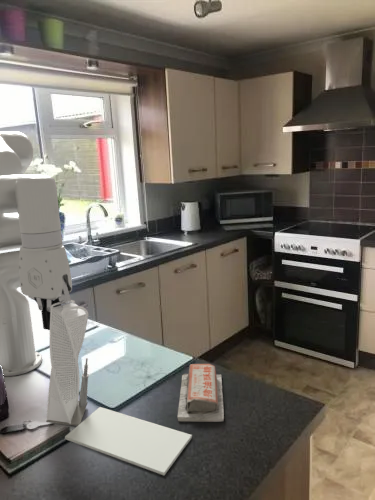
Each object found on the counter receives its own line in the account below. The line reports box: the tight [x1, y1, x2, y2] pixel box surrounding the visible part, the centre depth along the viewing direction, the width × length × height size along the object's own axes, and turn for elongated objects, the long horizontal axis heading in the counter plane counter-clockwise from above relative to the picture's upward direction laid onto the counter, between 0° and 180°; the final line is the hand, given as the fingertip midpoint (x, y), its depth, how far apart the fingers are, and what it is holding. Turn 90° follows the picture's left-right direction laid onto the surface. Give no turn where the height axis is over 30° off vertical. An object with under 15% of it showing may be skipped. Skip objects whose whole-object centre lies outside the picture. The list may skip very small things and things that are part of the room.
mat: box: [64, 406, 193, 476], centre depth 83 cm, size 23×11×1 cm, turn 63°
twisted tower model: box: [45, 299, 90, 427], centre depth 85 cm, size 8×8×28 cm
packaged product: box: [177, 363, 225, 423], centre depth 95 cm, size 18×5×10 cm
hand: (52, 327), depth 85 cm, fingers closed
